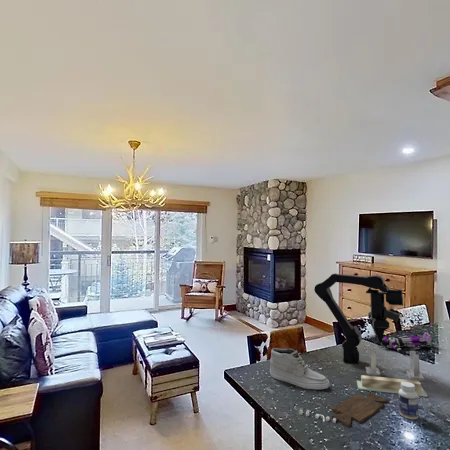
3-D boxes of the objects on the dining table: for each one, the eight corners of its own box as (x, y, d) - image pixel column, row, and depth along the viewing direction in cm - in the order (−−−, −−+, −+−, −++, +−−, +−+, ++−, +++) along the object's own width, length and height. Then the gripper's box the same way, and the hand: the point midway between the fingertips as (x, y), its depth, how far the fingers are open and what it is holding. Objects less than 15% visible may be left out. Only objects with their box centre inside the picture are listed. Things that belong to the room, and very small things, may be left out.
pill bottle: (395, 411, 107) (394, 381, 108) (411, 410, 107) (410, 380, 108) (406, 420, 102) (405, 388, 102) (422, 419, 102) (421, 387, 103)
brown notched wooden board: (323, 417, 105) (352, 431, 97) (323, 412, 105) (352, 426, 97) (364, 393, 121) (392, 403, 113) (364, 388, 121) (392, 398, 113)
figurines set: (336, 421, 102) (336, 411, 102) (335, 425, 100) (334, 416, 100) (298, 412, 108) (298, 403, 108) (296, 416, 105) (296, 407, 105)
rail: (362, 386, 125) (361, 378, 125) (361, 382, 128) (361, 375, 128) (421, 392, 119) (420, 384, 119) (419, 389, 122) (418, 380, 122)
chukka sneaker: (325, 394, 120) (324, 360, 121) (264, 378, 134) (264, 349, 135) (332, 385, 128) (331, 353, 128) (274, 371, 142) (274, 343, 142)
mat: (358, 389, 123) (358, 388, 123) (356, 381, 130) (356, 380, 130) (427, 397, 117) (427, 395, 117) (421, 388, 123) (421, 387, 123)
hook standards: (367, 375, 136) (366, 352, 137) (365, 369, 143) (364, 346, 143) (424, 380, 130) (423, 356, 131) (419, 374, 137) (418, 351, 137)
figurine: (447, 342, 161) (392, 345, 158) (447, 356, 161) (392, 359, 158) (414, 325, 185) (366, 328, 182) (414, 337, 185) (366, 340, 182)
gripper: (402, 308, 137) (403, 346, 136) (392, 300, 154) (394, 334, 154) (373, 307, 140) (374, 344, 139) (367, 299, 158) (368, 332, 157)
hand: (378, 338), depth 147 cm, fingers open, 9 cm apart
